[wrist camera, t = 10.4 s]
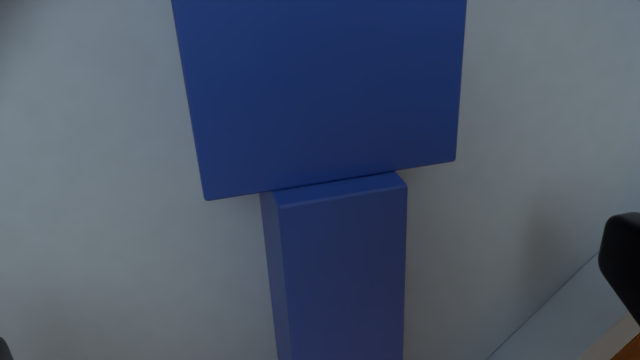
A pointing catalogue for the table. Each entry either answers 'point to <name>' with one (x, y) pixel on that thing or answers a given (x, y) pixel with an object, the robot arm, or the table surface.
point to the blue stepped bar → (325, 147)
